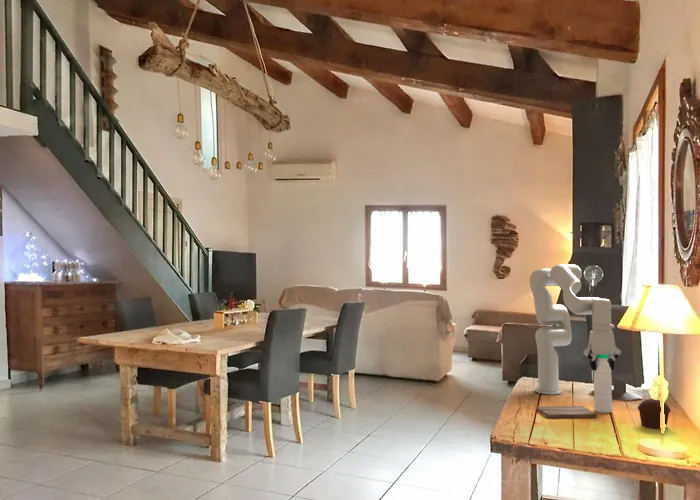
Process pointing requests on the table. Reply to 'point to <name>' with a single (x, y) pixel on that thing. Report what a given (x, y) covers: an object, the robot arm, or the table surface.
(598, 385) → the water bottle
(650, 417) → the muffin
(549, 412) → the walnut board
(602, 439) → the table surface
